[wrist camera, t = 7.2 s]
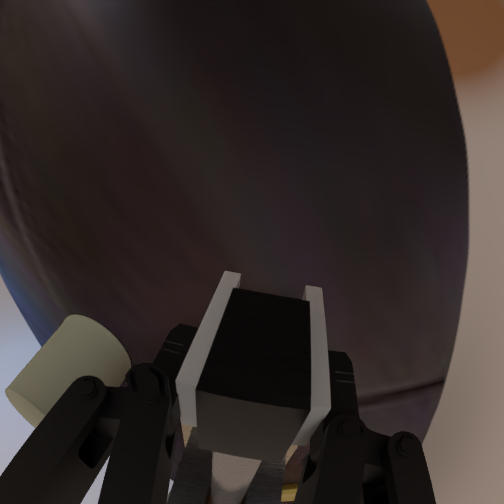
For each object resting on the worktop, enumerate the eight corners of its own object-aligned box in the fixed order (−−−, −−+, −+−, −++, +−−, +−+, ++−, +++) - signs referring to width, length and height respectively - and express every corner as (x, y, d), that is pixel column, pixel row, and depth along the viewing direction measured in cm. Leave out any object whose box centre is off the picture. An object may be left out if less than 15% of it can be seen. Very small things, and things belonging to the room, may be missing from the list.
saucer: (278, 493, 42) (277, 502, 40) (256, 482, 39) (254, 492, 37) (318, 489, 39) (317, 498, 37) (299, 478, 36) (298, 489, 34)
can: (140, 385, 28) (96, 470, 17) (78, 364, 29) (31, 432, 18) (120, 325, 24) (51, 423, 13) (53, 305, 25) (-13, 377, 14)
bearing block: (177, 349, 24) (113, 486, 11) (333, 377, 23) (334, 528, 10) (188, 455, 36) (165, 527, 23) (277, 472, 34) (265, 547, 22)
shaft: (233, 287, 11) (195, 389, 7) (309, 300, 11) (310, 410, 6) (214, 484, 23) (205, 521, 19) (241, 489, 23) (234, 526, 18)
